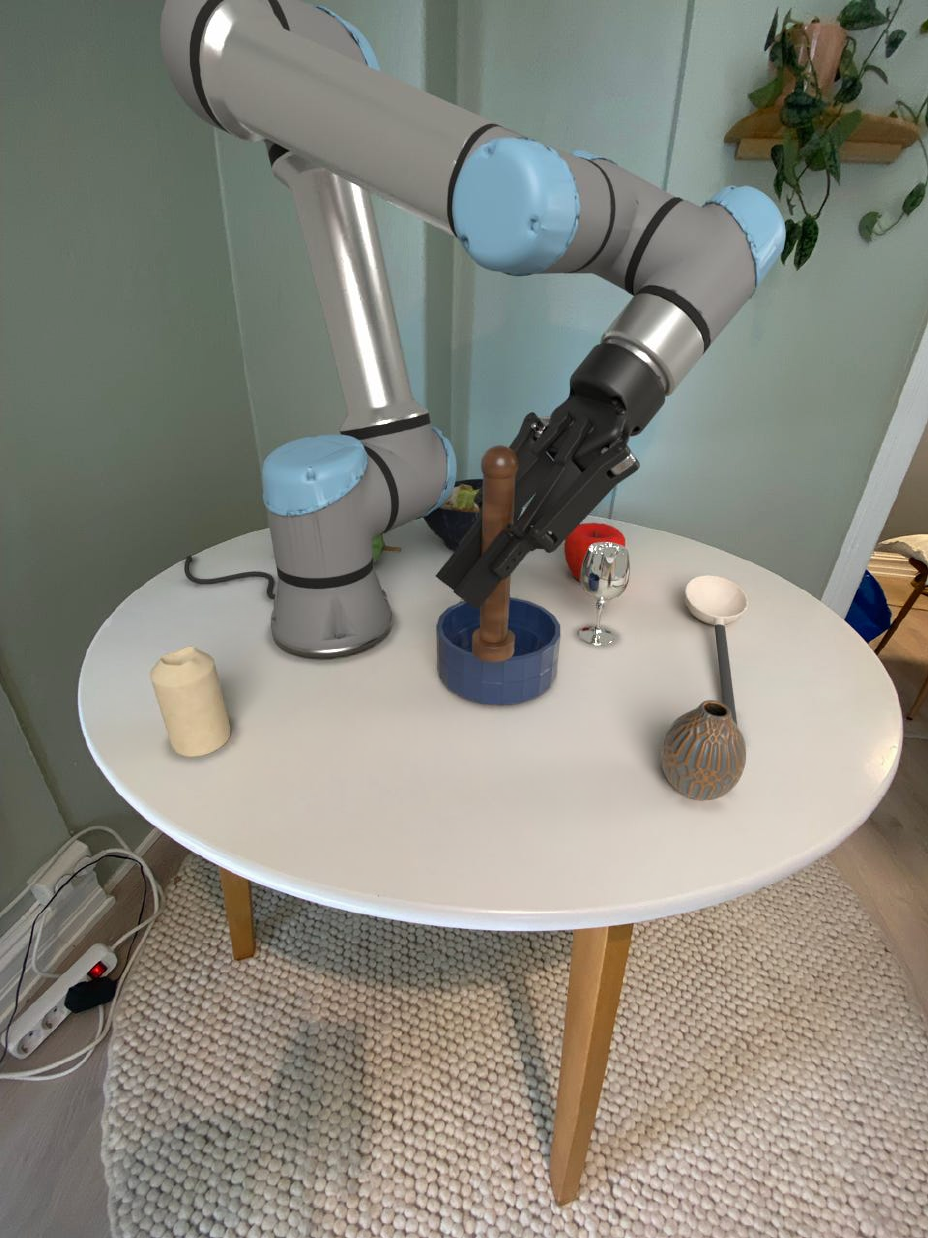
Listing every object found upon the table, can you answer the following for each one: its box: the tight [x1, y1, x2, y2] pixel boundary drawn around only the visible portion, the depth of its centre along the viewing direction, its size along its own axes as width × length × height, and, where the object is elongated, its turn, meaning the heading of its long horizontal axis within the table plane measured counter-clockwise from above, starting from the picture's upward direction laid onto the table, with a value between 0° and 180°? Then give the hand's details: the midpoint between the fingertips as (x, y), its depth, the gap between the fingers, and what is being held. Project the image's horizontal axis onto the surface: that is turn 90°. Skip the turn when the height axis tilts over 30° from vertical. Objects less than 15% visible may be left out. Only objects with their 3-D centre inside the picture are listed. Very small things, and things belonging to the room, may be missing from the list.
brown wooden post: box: [472, 444, 519, 662], centre depth 52 cm, size 4×4×19 cm
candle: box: [149, 646, 231, 758], centre depth 57 cm, size 6×6×10 cm
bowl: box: [422, 478, 524, 553], centre depth 99 cm, size 17×17×10 cm
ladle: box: [684, 574, 749, 726], centre depth 72 cm, size 8×31×4 cm, turn 165°
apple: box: [563, 522, 626, 582], centre depth 89 cm, size 9×9×8 cm
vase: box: [660, 699, 747, 801], centre depth 53 cm, size 7×7×9 cm
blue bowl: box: [435, 596, 562, 706], centre depth 68 cm, size 14×14×6 cm
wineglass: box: [578, 542, 631, 646], centre depth 74 cm, size 6×6×12 cm
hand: (456, 592), depth 51 cm, fingers closed on brown wooden post, 3 cm apart
